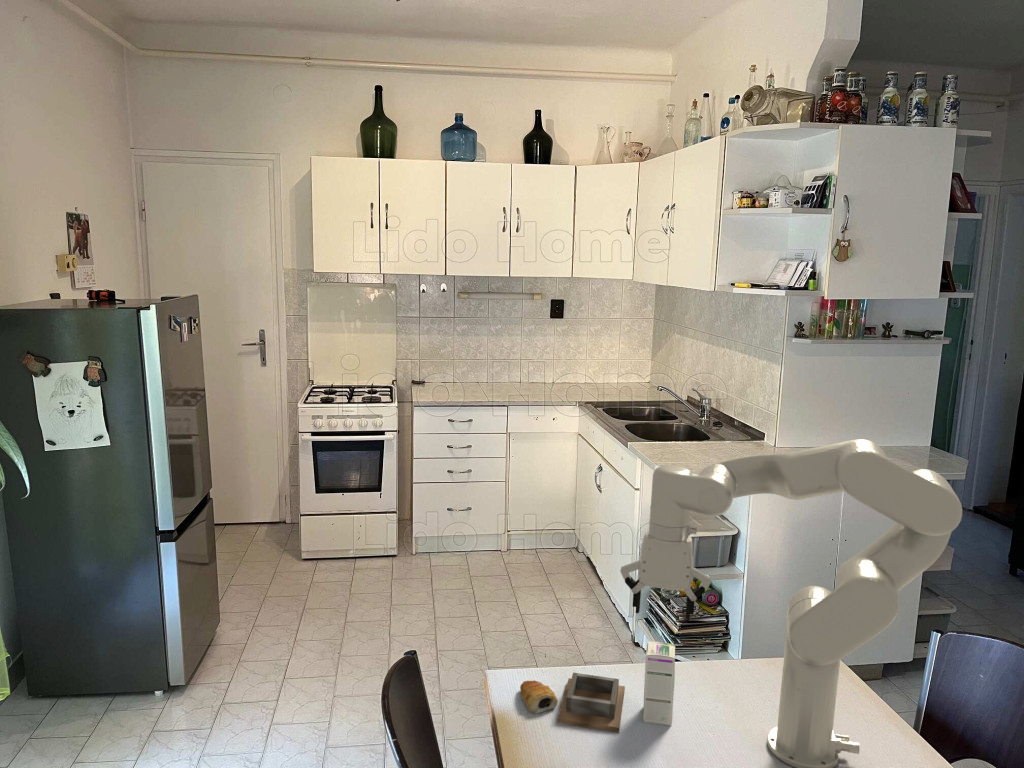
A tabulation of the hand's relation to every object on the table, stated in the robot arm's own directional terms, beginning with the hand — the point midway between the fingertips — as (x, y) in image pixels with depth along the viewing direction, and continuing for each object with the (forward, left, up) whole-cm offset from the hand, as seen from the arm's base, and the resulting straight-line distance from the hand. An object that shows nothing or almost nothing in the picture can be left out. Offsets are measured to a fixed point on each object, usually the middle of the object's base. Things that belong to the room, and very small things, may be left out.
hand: (662, 613), depth 148 cm
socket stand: (+13, 0, -22) cm, 25 cm away
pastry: (+24, +1, -22) cm, 33 cm away
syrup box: (0, 0, -22) cm, 22 cm away
